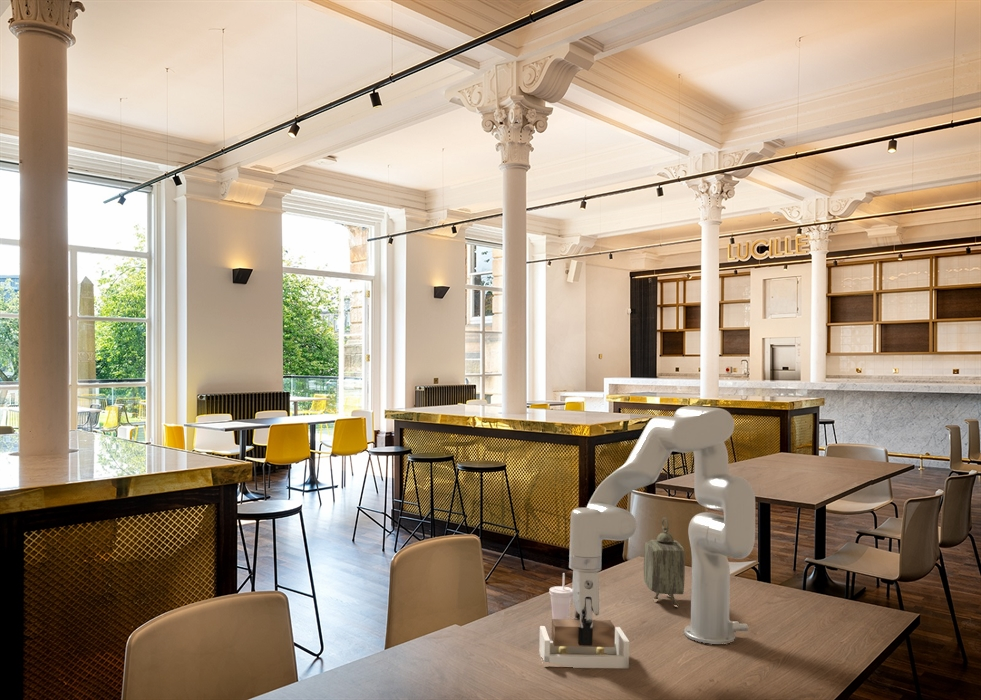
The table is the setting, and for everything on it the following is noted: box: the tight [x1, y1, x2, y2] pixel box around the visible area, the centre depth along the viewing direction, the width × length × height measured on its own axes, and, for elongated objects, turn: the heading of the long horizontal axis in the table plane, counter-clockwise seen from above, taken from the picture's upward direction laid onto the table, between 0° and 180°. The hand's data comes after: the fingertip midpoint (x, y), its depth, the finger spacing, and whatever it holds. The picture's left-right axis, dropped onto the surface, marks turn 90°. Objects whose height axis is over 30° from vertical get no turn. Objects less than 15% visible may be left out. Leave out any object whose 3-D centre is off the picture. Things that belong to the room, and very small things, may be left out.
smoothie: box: [548, 572, 572, 619], centre depth 187 cm, size 6×6×14 cm
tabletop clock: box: [643, 516, 686, 606], centre depth 211 cm, size 14×9×25 cm, turn 179°
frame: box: [538, 625, 630, 669], centre depth 165 cm, size 19×9×6 cm, turn 93°
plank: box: [550, 618, 616, 647], centre depth 165 cm, size 14×5×4 cm, turn 93°
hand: (582, 639), depth 165 cm, fingers closed on plank, 5 cm apart
